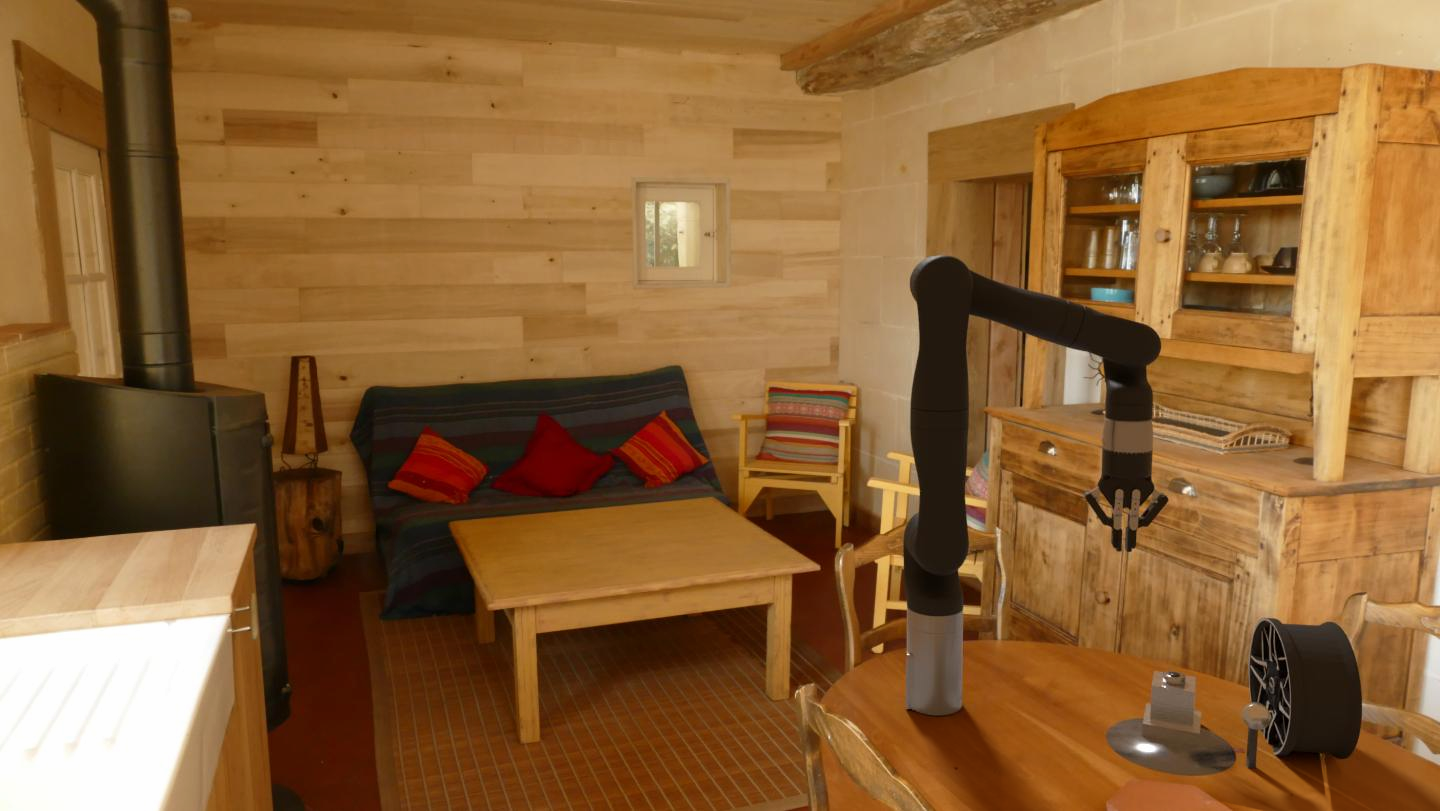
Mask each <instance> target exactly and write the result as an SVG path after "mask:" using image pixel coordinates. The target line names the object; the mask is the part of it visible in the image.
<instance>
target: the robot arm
mask: <svg viewBox="0 0 1440 811" xmlns="http://www.w3.org/2000/svg"><path fill="white" fill-rule="evenodd" d="M909 290H910V293H911V296H912V297H913V299H914V301H915V302H916V307H917V320H918V333H919V334H918V337H919V338H918V341H919V342H918V353H917V359H916V365H915V369H914V373H913V379H912V386H911V394H910V404H909V405H910V410H909V411H910V413H909V414H910V418H909V421H910V424H909V430H910V444H911V450H912V453H913V461H914V465H915V470H916V474H917V480H918V488H919V490H918V491H919V504H918V505H919V506H918V511H917V512H916V513H915V514H914V515H913V516H911V518H910V519H909V520H908V522H907V523H906V526H905V529H904V533H903V545H902V546H903V548H902V549H903V553H902V554H903V582H904V588H905V593H906V594H905V595H906V655H905V709H906V708H907V709H906V710H908V709H912V710H911V711H914V710H915V711H914V712H917V713H920V714H923V715H929V716H949V715H952V714H955V713H957V712H958V711H960V710H961V709H962V705H963V657H964V656H963V653H964V652H963V648H964V647H963V645H964V644H963V641H964V640H963V639H964V593H963V590H962V589H963V588H962V586H961V581H960V576H959V569H960V568H961V567H962V566H963V564H964V563H965V562H966V559H967V556H968V554H969V548H970V540H969V539H970V538H969V527H968V516H967V506H966V505H967V504H966V478H967V476H966V475H967V465H968V439H969V422H970V420H969V419H970V408H969V407H970V397H969V396H970V394H969V392H970V391H969V368H968V367H969V366H968V353H967V343H968V342H967V340H968V328H969V321H970V320H969V319H970V316H974V317H979V318H980V319H981V318H982V319H986V320H988V321H992V322H995V323H998V324H1001V325H1003V326H1006V327H1009V328H1012V329H1015V330H1016V331H1019V332H1022V333H1024V334H1027V335H1030V336H1031V337H1033V338H1037V339H1041V340H1043V341H1046V342H1049V343H1053V344H1056V345H1059V346H1062V347H1065V348H1068V349H1071V350H1077V351H1080V352H1081V351H1082V352H1087V353H1089V354H1093V355H1095V356H1098V357H1100V358H1102V364H1103V374H1104V380H1105V386H1106V394H1105V405H1104V406H1105V407H1104V408H1105V409H1104V411H1105V412H1104V423H1103V430H1102V438H1101V444H1102V446H1101V447H1102V448H1101V473H1100V474H1101V475H1100V476H1101V477H1100V478H1099V480H1098V482H1097V486H1096V487H1093V489H1091V490H1085V491H1084V492H1083V497H1084V498H1085V500H1086V502H1087V503H1088V505H1090V507H1091V509H1092V510H1093V512H1094V513H1095V515H1096V516H1097V517H1098V519H1099V521H1100V522H1101V523H1102V525H1104V526H1106V527H1107V526H1108V527H1110V528H1111V531H1110V532H1111V535H1110V536H1111V537H1110V538H1111V540H1110V544H1111V545H1112V547H1113V548H1114V549H1115V551H1116V552H1120V553H1122V551H1123V529H1122V527H1123V526H1122V524H1123V522H1122V521H1123V513H1124V512H1123V511H1124V509H1127V520H1126V526H1125V532H1124V533H1125V537H1124V538H1125V539H1124V550H1125V551H1126V552H1127V553H1132V551H1133V549H1134V550H1135V548H1136V547H1137V535H1138V534H1137V532H1138V529H1140V528H1143V527H1144V528H1148V527H1149V526H1150V525H1151V524H1152V522H1153V521H1154V520H1155V518H1157V516H1158V515H1159V514H1160V513H1161V511H1162V510H1163V509H1164V507H1165V506H1166V505H1167V503H1168V502H1169V497H1168V495H1166V494H1165V493H1164V492H1160V491H1159V490H1157V489H1156V488H1155V484H1154V482H1153V480H1152V479H1153V478H1152V474H1153V472H1152V470H1153V455H1154V454H1153V450H1154V428H1153V411H1154V410H1153V405H1154V393H1153V392H1154V391H1153V388H1152V386H1151V384H1150V382H1148V378H1147V376H1148V375H1147V374H1148V373H1147V367H1148V366H1149V365H1151V364H1152V363H1154V362H1155V361H1156V359H1157V358H1159V355H1160V353H1161V350H1162V340H1161V338H1160V336H1159V334H1158V332H1157V331H1156V330H1155V329H1154V328H1153V327H1152V326H1151V325H1148V324H1146V323H1143V322H1139V321H1135V320H1131V319H1127V318H1124V317H1119V316H1115V315H1111V314H1107V313H1104V312H1101V311H1098V310H1096V309H1093V308H1092V307H1088V306H1086V305H1083V304H1081V303H1077V302H1074V301H1071V300H1068V299H1064V298H1061V297H1057V296H1054V295H1051V294H1047V293H1042V292H1038V291H1033V290H1029V289H1025V288H1021V287H1016V286H1012V285H1009V284H1006V283H1002V282H999V281H996V280H994V279H991V278H989V277H986V276H984V275H981V274H979V273H977V272H975V271H974V270H971V269H969V267H968V266H967V264H966V263H965V262H964V261H962V260H961V259H960V258H957V257H955V256H952V255H948V254H936V255H931V256H928V257H926V258H925V259H923V260H921V261H920V262H918V264H917V265H916V266H915V267H914V269H913V270H912V272H911V275H910V277H909ZM1101 494H1102V495H1103V497H1104V498H1105V500H1106V501H1107V502H1108V504H1109V505H1110V511H1111V516H1108V515H1107V514H1106V513H1105V511H1104V509H1103V507H1101V505H1100V504H1099V503H1100V502H1101V500H1102V499H1101V496H1100V495H1101ZM1149 497H1150V502H1151V503H1150V504H1149V505H1148V506H1147V508H1146V509H1145V510H1144V511H1143V512H1142V514H1140V507H1142V506H1143V504H1144V503H1145V502H1146V501H1147V500H1148V498H1149Z"/></svg>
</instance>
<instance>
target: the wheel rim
mask: <svg viewBox="0 0 1440 811" xmlns="http://www.w3.org/2000/svg"><path fill="white" fill-rule="evenodd" d="M1350 641H1351V640H1350V639H1349V637H1348V636H1347V634H1346V631H1345V630H1344V629H1343V628H1342V627H1341V626H1340V625H1339V624H1338V623H1336V622H1333V621H1325V622H1323V623H1321V624H1318V625H1317V624H1316V625H1315V624H1295V623H1283V622H1282V621H1280V620H1279V619H1277V618H1273V617H1272V618H1271V617H1261V619H1259V620H1258V621H1257V623H1256V625H1255V626H1254V630H1253V632H1252V634H1251V640H1250V647H1249V654H1248V688H1249V690H1248V691H1249V697H1250V702H1257V703H1261V704H1263V705H1264V706H1265V707H1266V708H1267V709H1268V711H1269V712H1270V714H1271V718H1272V719H1271V723H1270V724H1269V726H1268V727H1266V728H1265V729H1262V730H1259V731H1260V732H1262V734H1263V738H1264V739H1266V740H1267V741H1266V743H1267V744H1269V745H1272V749H1273V751H1272V753H1273V754H1274V756H1287V755H1289V754H1290V753H1292V752H1299V753H1300V752H1301V753H1311V754H1313V753H1314V754H1327V755H1328V754H1329V756H1332V757H1333V758H1335V759H1337V760H1346V759H1348V758H1350V756H1352V754H1353V753H1354V752H1355V749H1356V747H1357V744H1358V742H1359V738H1360V734H1361V728H1362V722H1363V721H1362V720H1363V694H1362V682H1361V676H1360V671H1359V667H1358V661H1357V658H1356V654H1355V652H1354V649H1353V646H1352V644H1351V642H1350Z"/></svg>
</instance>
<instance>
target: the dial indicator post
mask: <svg viewBox="0 0 1440 811" xmlns="http://www.w3.org/2000/svg"><path fill="white" fill-rule="evenodd" d="M1241 718H1242V720H1243V721H1244V723H1245V725H1246V726H1247V727H1248V728H1247V742H1246V743H1247V745H1246V760H1245V761H1246V763H1245V766H1246V767H1247V769H1250V770H1251V769H1252V770H1256V768H1257V766H1256V765H1257V754H1258V753H1257V751H1258V736H1259V735H1258V734H1259V731H1260V730H1262V729H1265V728H1266V727H1268V726H1269V724H1270V723H1271V719H1272V718H1271V714H1270V712H1269V711H1268V709H1267V708H1266V707H1265V706H1264V705H1263V704H1261V703H1257V702H1251V701H1250V702H1249V703H1247V704H1246V705H1245V706H1243V708H1242V710H1241Z"/></svg>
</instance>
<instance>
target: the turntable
mask: <svg viewBox="0 0 1440 811" xmlns="http://www.w3.org/2000/svg"><path fill="white" fill-rule="evenodd" d="M1143 719H1144V717H1138V718H1129V719H1125V720H1122V721H1119V722H1116V723H1115V724H1112V725H1111V726H1109V728H1108V730H1107V731H1106V736H1105V739H1106V742H1107V744H1108V745H1109V747H1110V749H1112V751H1114V752H1115V753H1117V755H1119V757H1120V756H1121V757H1122V758H1123V759H1125V760H1128V761H1129V762H1131V763H1132V764H1136V765H1137V766H1140V767H1144V768H1147V769H1148V770H1153V771H1156V772H1160V773H1161V772H1162V773H1166V774H1171V775H1179V776H1209V775H1214V774H1218V773H1222V772H1224V771H1227V770H1228V769H1230V768H1231V767H1233V765H1234V764H1235V762H1236V760H1237V756H1236V755H1237V754H1236V753H1246V751H1245V750H1244V747H1243V748H1242V747H1233V746H1232V745H1231V744H1230V743H1229V742H1228V741H1227V740H1225V739H1224V738H1223V737H1221V736H1219V735H1218V734H1216V733H1214V732H1213V731H1211V730H1208V729H1206V728H1204V727H1202V726H1200V741H1199V746H1197V745H1191V744H1185V743H1180V742H1174V741H1169V740H1163V739H1157V738H1152V737H1146V736H1142V725H1143Z"/></svg>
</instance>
